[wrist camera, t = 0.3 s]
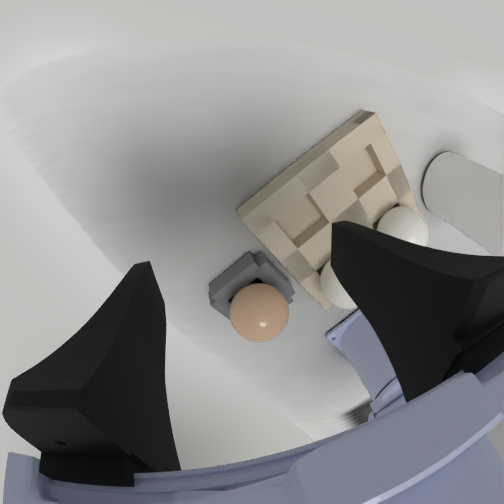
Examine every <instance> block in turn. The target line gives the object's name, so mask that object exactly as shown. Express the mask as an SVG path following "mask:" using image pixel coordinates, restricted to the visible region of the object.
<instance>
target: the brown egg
mask: <svg viewBox="0 0 504 504" xmlns="http://www.w3.org/2000/svg"><path fill="white" fill-rule="evenodd" d="M229 315H230V320H231V323H232V326H233V327H234V329H235V330H236V332H237V333H238V334H239V335H240V336H242V337H243V338H245V339H247V340H249V341H253V342H265V341H269V340H272V339H274V338H275V337H277V336H278V335H279V334H280V333H281V332H282V331H283V330H284V328H285V327H286V325H287V322H288V318H289V307H288V303H287V301H286V299H285V297H284V295H283V294H282V293H281V292H280V291H279V290H278V289H276V288H275V287H273V286H271V285H268V284H264V283H254V284H250V285H248V286H245V287H244V288H242V289H241V290H240V291H239V292H238V293H237V294H236V295H235V296H234V298H233V300H232V302H231V305H230V314H229Z"/></svg>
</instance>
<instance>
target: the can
mask: <svg viewBox="0 0 504 504" xmlns="http://www.w3.org/2000/svg"><path fill="white" fill-rule="evenodd" d="M422 193H423V198H424V202H425V205H426V207H427V208H428V209H429V210H430V211H431V212H432V213H434V214H435V215H437V216H438V217H440V218H441V219H443V220H444V221H446V222H447V223H449V224H450V225H452V226H453V227H455V228H456V229H458V230H459V231H460V232H462V233H463V234H465V235H466V236H468V237H469V238H470V239H472V240H473V241H475V242H476V243H477V244H479V245H480V246H481V247H483V248H484V249H486V250H487V251H488V252H490V253H491V254H492V255H494V256H504V175H503V174H500V173H498V172H496V171H494V170H492V169H490V168H488V167H485V166H483V165H481V164H479V163H476V162H474V161H472V160H469V159H467V158H464V157H462V156H459V155H457V154H454V153H450V152H445V153H442V154H440V155H439V156H437V157H436V158H434V159H433V160H432V162H431V163H430V164H429V166H428V168H427V170H426V172H425V175H424V179H423V185H422Z"/></svg>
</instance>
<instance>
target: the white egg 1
mask: <svg viewBox="0 0 504 504" xmlns="http://www.w3.org/2000/svg"><path fill="white" fill-rule="evenodd" d="M330 262H331V259H330V260H329V261H328V262H327V263H326V264H325V266H324V268H323V270H322V272H321V276H320V286H321V290H322V293H323V295H324V297H325V298H326V300H327V301H328V302H329V303H331V304H332V305H333V306H335V307H337V308H340V309H355V308H358V307H357V306H356V304H355V303H354V302H353V300H352V299H351V298H350V296H349V295H348V294H347V292H346V291H345V290H344V288H343V287H342V285H341V284H340V282H339V281H338V279H337V277H336V275H335V273H334V271H333V270H332V268H331V266H330Z"/></svg>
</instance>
